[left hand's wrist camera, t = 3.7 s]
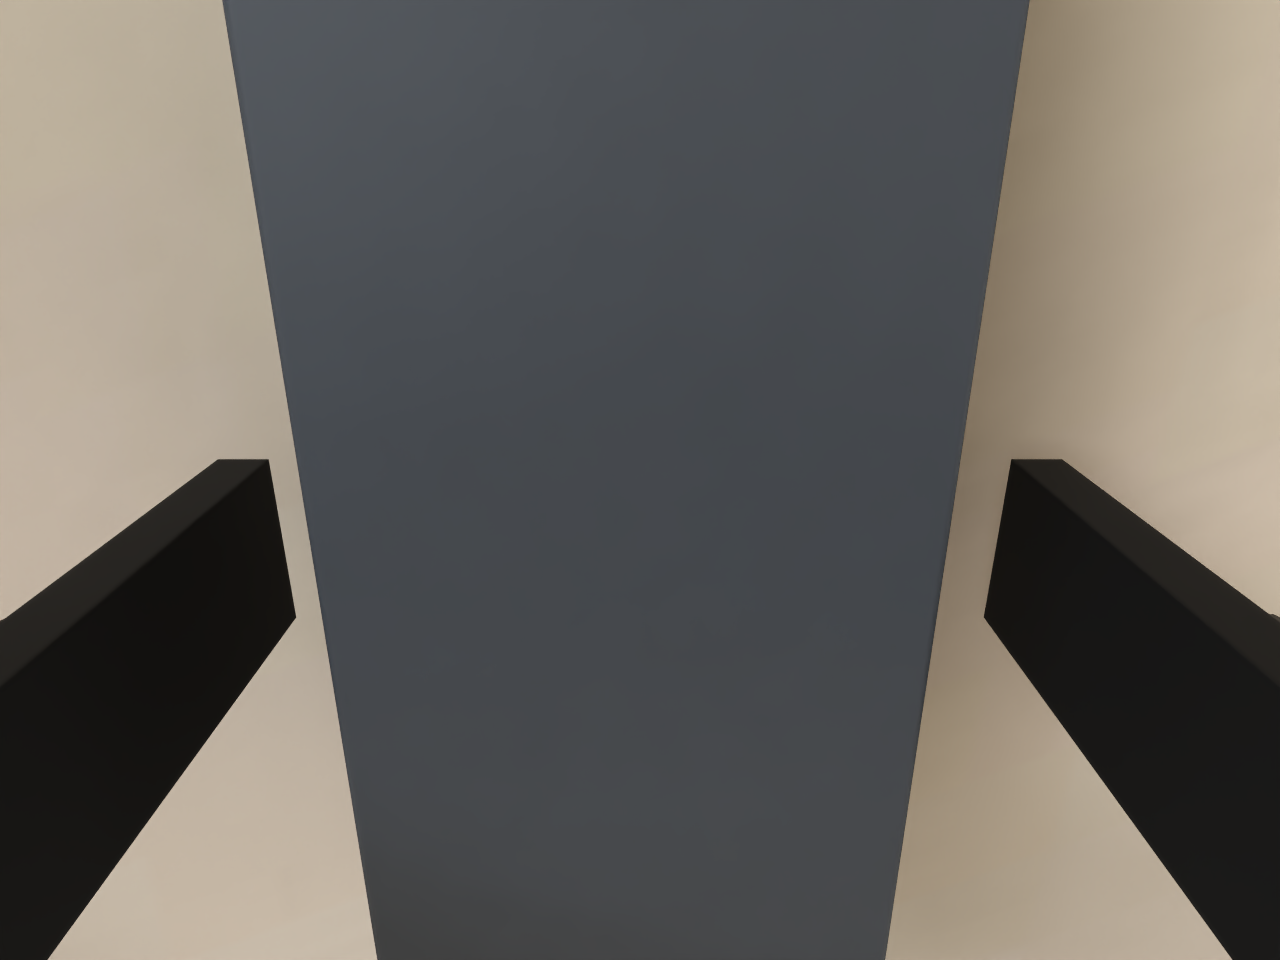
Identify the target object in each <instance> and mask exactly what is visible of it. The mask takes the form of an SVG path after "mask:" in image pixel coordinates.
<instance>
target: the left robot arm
mask: <svg viewBox="0 0 1280 960" xmlns="http://www.w3.org/2000/svg"><path fill="white" fill-rule="evenodd" d="M295 618H296V614H295V608H294V602H293V597H292V591H291V585H290V579H289V574H288V568H287V562H286V557H285V551H284V545H283V539H282V534H281V528H280V522H279V516H278V511H277V505H276V499H275V494H274V488H273V482H272V476H271V471H270V465H269V459H218V460H217V461H215V462H214V463H213V464H211V465H210V466H209V467H207V468H206V469H205V470H203V471H202V472H201V473H199V474H198V475H197V476H195V477H194V478H193V479H191V480H190V481H188V482H187V483H186V484H184V485H183V486H182V487H180V488H179V489H178V490H176V491H175V492H174V493H172V494H171V495H170V496H168V497H167V498H166V499H164V500H163V501H162V502H160V503H159V504H158V505H156V506H155V507H154V508H152V509H151V510H150V511H148V512H147V513H146V514H144V515H143V516H142V517H140V518H139V519H138V520H136V521H135V522H134V523H132V524H131V525H130V526H128V527H127V528H126V529H124V530H123V531H122V532H120V533H119V534H118V535H116V536H115V537H114V538H112V539H111V540H110V541H108V542H107V543H106V544H104V545H103V546H102V547H100V548H99V549H98V550H96V551H95V552H94V553H92V554H91V555H90V556H88V557H87V558H86V559H84V560H83V561H82V562H80V563H79V564H78V565H76V566H75V567H73V568H72V569H71V570H69V571H68V572H67V573H65V574H64V575H63V576H61V577H60V578H59V579H57V580H56V581H55V582H53V583H52V584H51V585H49V586H48V587H47V588H45V589H44V590H43V591H41V592H40V593H39V594H37V595H36V596H35V597H33V598H32V599H31V600H29V601H28V602H27V603H25V604H24V605H23V606H21V607H20V608H19V609H17V610H16V611H15V612H13V613H12V614H11V615H9V616H8V617H7V618H5V619H3V620H1V621H0V960H48V958H49V957H50V955H51V954H52V953H53V951H54V950H55V949H56V947H57V946H58V944H59V943H60V942H61V940H62V939H63V938H64V936H65V935H66V933H67V932H68V931H69V929H70V928H71V927H72V925H73V924H74V922H75V921H76V920H77V918H78V917H79V916H80V914H81V913H82V911H83V910H84V909H85V907H86V906H87V905H88V903H89V902H90V900H91V899H92V898H93V896H94V895H95V894H96V892H97V891H98V889H99V888H100V887H101V885H102V884H103V883H104V881H105V880H106V878H107V877H108V876H109V874H110V873H111V871H112V870H113V869H114V867H115V866H116V865H117V863H118V862H119V860H120V859H121V858H122V856H123V855H124V854H125V852H126V851H127V849H128V848H129V847H130V845H131V844H132V843H133V841H134V840H135V838H136V837H137V836H138V834H139V833H140V832H141V830H142V829H143V827H144V826H145V825H146V823H147V822H148V821H149V819H150V818H151V816H152V815H153V814H154V812H155V811H156V810H157V808H158V807H159V805H160V804H161V803H162V801H163V800H164V799H165V797H166V796H167V794H168V793H169V792H170V790H171V789H172V788H173V786H174V785H175V783H176V782H177V781H178V779H179V778H180V776H181V775H182V774H183V772H184V771H185V770H186V768H187V767H188V765H189V764H190V763H191V761H192V760H193V759H194V757H195V756H196V754H197V753H198V752H199V750H200V749H201V748H202V746H203V745H204V743H205V742H206V741H207V739H208V738H209V737H210V735H211V734H212V732H213V731H214V730H215V728H216V727H217V726H218V724H219V723H220V721H221V720H222V719H223V717H224V716H225V715H226V713H227V712H228V710H229V709H230V708H231V706H232V705H233V704H234V702H235V701H236V699H237V698H238V697H239V695H240V694H241V693H242V691H243V690H244V688H245V687H246V686H247V684H248V683H249V681H250V680H251V679H252V677H253V676H254V675H255V673H256V672H257V670H258V669H259V668H260V666H261V665H262V664H263V662H264V661H265V659H266V658H267V657H268V655H269V654H270V653H271V651H272V650H273V648H274V647H275V646H276V644H277V643H278V642H279V640H280V639H281V637H282V636H283V635H284V633H285V632H286V631H287V629H288V628H289V626H290V625H291V624H292V622H293V621H294V620H295ZM984 618H985V620H986V621H987V622H988V624H989V625H990V626H991V628H992V629H993V631H994V632H995V633H996V635H997V636H998V637H999V639H1000V640H1001V642H1002V643H1003V644H1004V646H1005V647H1006V648H1007V650H1008V651H1009V653H1010V654H1011V655H1012V657H1013V658H1014V659H1015V661H1016V662H1017V664H1018V665H1019V666H1020V668H1021V669H1022V671H1023V672H1024V673H1025V675H1026V676H1027V677H1028V679H1029V680H1030V682H1031V683H1032V684H1033V686H1034V687H1035V688H1036V690H1037V691H1038V693H1039V694H1040V695H1041V697H1042V698H1043V699H1044V701H1045V702H1046V704H1047V705H1048V706H1049V708H1050V709H1051V710H1052V712H1053V713H1054V715H1055V716H1056V717H1057V719H1058V720H1059V721H1060V723H1061V724H1062V726H1063V727H1064V728H1065V730H1066V731H1067V732H1068V734H1069V735H1070V737H1071V738H1072V739H1073V741H1074V742H1075V743H1076V745H1077V746H1078V748H1079V749H1080V750H1081V752H1082V753H1083V754H1084V756H1085V757H1086V759H1087V760H1088V761H1089V763H1090V764H1091V766H1092V767H1093V768H1094V770H1095V771H1096V772H1097V774H1098V775H1099V777H1100V778H1101V779H1102V781H1103V782H1104V783H1105V785H1106V786H1107V788H1108V789H1109V790H1110V792H1111V793H1112V794H1113V796H1114V797H1115V799H1116V800H1117V801H1118V803H1119V804H1120V805H1121V807H1122V808H1123V810H1124V811H1125V812H1126V814H1127V815H1128V816H1129V818H1130V819H1131V821H1132V822H1133V823H1134V825H1135V826H1136V827H1137V829H1138V830H1139V832H1140V833H1141V834H1142V836H1143V837H1144V838H1145V840H1146V841H1147V843H1148V844H1149V845H1150V847H1151V848H1152V849H1153V851H1154V852H1155V854H1156V855H1157V856H1158V858H1159V859H1160V861H1161V862H1162V863H1163V865H1164V866H1165V867H1166V869H1167V870H1168V872H1169V873H1170V874H1171V876H1172V877H1173V878H1174V880H1175V881H1176V883H1177V884H1178V885H1179V887H1180V888H1181V889H1182V891H1183V892H1184V894H1185V895H1186V896H1187V898H1188V899H1189V900H1190V902H1191V903H1192V905H1193V906H1194V907H1195V909H1196V910H1197V911H1198V913H1199V914H1200V916H1201V917H1202V918H1203V920H1204V921H1205V922H1206V924H1207V925H1208V927H1209V928H1210V929H1211V931H1212V932H1213V933H1214V935H1215V936H1216V938H1217V939H1218V940H1219V942H1220V943H1221V944H1222V946H1223V947H1224V949H1225V950H1226V951H1227V953H1228V954H1229V955H1230V957H1231V958H1232V960H1280V617H1278V616H1276V615H1274V614H1268V613H1267V612H1265V611H1264V610H1263V609H1261V608H1260V607H1259V606H1257V605H1256V604H1255V603H1253V602H1252V601H1251V600H1249V599H1248V598H1247V597H1245V596H1244V595H1243V594H1241V593H1240V592H1239V591H1237V590H1236V589H1235V588H1233V587H1232V586H1231V585H1229V584H1228V583H1227V582H1225V581H1224V580H1223V579H1221V578H1220V577H1219V576H1217V575H1216V574H1215V573H1213V572H1212V571H1211V570H1209V569H1208V568H1206V567H1205V566H1204V565H1202V564H1201V563H1200V562H1198V561H1197V560H1196V559H1194V558H1193V557H1192V556H1190V555H1189V554H1188V553H1186V552H1185V551H1184V550H1182V549H1181V548H1180V547H1178V546H1177V545H1176V544H1174V543H1173V542H1172V541H1170V540H1169V539H1168V538H1166V537H1165V536H1164V535H1162V534H1161V533H1160V532H1158V531H1157V530H1156V529H1154V528H1153V527H1152V526H1150V525H1149V524H1148V523H1146V522H1145V521H1144V520H1142V519H1141V518H1140V517H1138V516H1137V515H1136V514H1134V513H1133V512H1132V511H1130V510H1129V509H1128V508H1126V507H1125V506H1124V505H1122V504H1121V503H1120V502H1118V501H1117V500H1116V499H1114V498H1113V497H1112V496H1110V495H1109V494H1108V493H1106V492H1105V491H1104V490H1102V489H1101V488H1100V487H1098V486H1097V485H1095V484H1094V483H1093V482H1091V481H1090V480H1089V479H1087V478H1086V477H1085V476H1083V475H1082V474H1081V473H1079V472H1078V471H1077V470H1075V469H1074V468H1073V467H1071V466H1070V465H1069V464H1067V463H1066V462H1065V461H1063V460H1062V459H1011V465H1010V470H1009V476H1008V482H1007V488H1006V493H1005V499H1004V505H1003V511H1002V516H1001V522H1000V528H999V533H998V539H997V545H996V551H995V556H994V562H993V568H992V574H991V579H990V585H989V591H988V596H987V602H986V608H985V614H984Z"/></svg>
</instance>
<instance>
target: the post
mask: <svg viewBox="0 0 1280 960" xmlns="http://www.w3.org/2000/svg"><path fill="white" fill-rule="evenodd" d="M223 7H224V13H225V19H226V25H227V31H228V38H229V44H230V50H231V56H232V62H233V68H234V75H235V81H236V87H237V93H238V99H239V106H240V112H241V118H242V124H243V130H244V137H245V143H246V149H247V155H248V161H249V168H250V174H251V180H252V186H253V192H254V198H255V205H256V211H257V217H258V223H259V229H260V236H261V242H262V248H263V254H264V260H265V267H266V273H267V279H268V285H269V291H270V297H271V304H272V310H273V316H274V322H275V328H276V335H277V341H278V347H279V353H280V359H281V366H282V372H283V378H284V384H285V390H286V397H287V403H288V409H289V415H290V421H291V427H292V434H293V440H294V446H295V452H296V458H297V465H298V471H299V477H300V483H301V489H302V496H303V502H304V508H305V514H306V520H307V526H308V533H309V539H310V545H311V551H312V557H313V564H314V570H315V576H316V582H317V588H318V595H319V601H320V607H321V613H322V619H323V626H324V632H325V638H326V644H327V650H328V656H329V663H330V669H331V675H332V681H333V687H334V694H335V700H336V706H337V712H338V718H339V725H340V731H341V737H342V743H343V749H344V756H345V762H346V768H347V774H348V780H349V786H350V793H351V799H352V805H353V811H354V817H355V824H356V830H357V836H358V842H359V848H360V855H361V861H362V867H363V873H364V879H365V885H366V892H367V898H368V904H369V910H370V916H371V923H372V929H373V935H374V941H375V947H376V954H377V960H885V956H886V950H887V943H888V936H889V930H890V923H891V916H892V910H893V903H894V896H895V890H896V883H897V877H898V870H899V863H900V857H901V850H902V843H903V837H904V830H905V823H906V817H907V810H908V804H909V797H910V790H911V784H912V777H913V770H914V764H915V757H916V750H917V744H918V737H919V731H920V724H921V717H922V711H923V704H924V697H925V691H926V684H927V677H928V671H929V664H930V658H931V651H932V644H933V638H934V631H935V624H936V618H937V611H938V604H939V598H940V591H941V585H942V578H943V571H944V565H945V558H946V551H947V545H948V538H949V531H950V525H951V518H952V512H953V505H954V498H955V492H956V485H957V478H958V472H959V465H960V458H961V452H962V445H963V439H964V432H965V425H966V419H967V412H968V405H969V399H970V392H971V385H972V379H973V372H974V366H975V359H976V352H977V346H978V339H979V332H980V326H981V319H982V312H983V306H984V299H985V293H986V286H987V279H988V273H989V266H990V259H991V253H992V246H993V239H994V233H995V226H996V220H997V213H998V206H999V200H1000V193H1001V186H1002V180H1003V173H1004V166H1005V160H1006V153H1007V147H1008V140H1009V133H1010V127H1011V120H1012V113H1013V107H1014V100H1015V93H1016V87H1017V80H1018V73H1019V67H1020V60H1021V54H1022V47H1023V40H1024V34H1025V27H1026V20H1027V14H1028V7H1029V0H223Z"/></svg>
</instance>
